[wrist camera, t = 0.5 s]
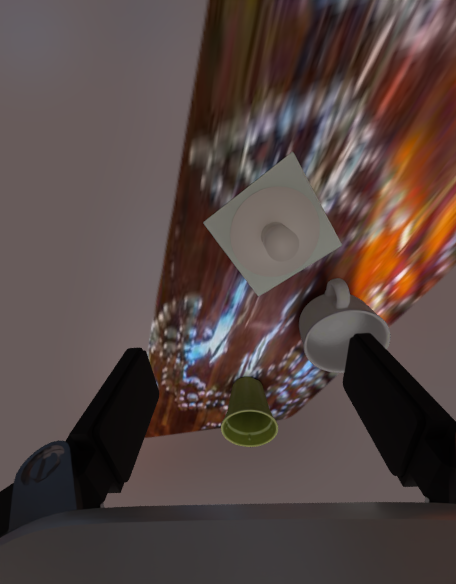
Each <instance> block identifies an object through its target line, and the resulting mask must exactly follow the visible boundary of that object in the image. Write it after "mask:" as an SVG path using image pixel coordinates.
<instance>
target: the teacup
mask: <svg viewBox="0 0 456 584" xmlns="http://www.w3.org/2000/svg"><path fill="white" fill-rule="evenodd" d="M299 330H300V335H301V338H302V342H303V345H304V351H305V354H306V356H307V358H308V359H309V361H310V362H311V363H312V364H313V365H315V366H316V367H318V368H320V369H322V370H325V371H329V372H335V373H344V371H345V365H346V359H347V353H348V346H349V340H350V338H351V337H353V336H354V334H357V333H371V334H372V335H373V336H374V337H375V338H376V339H377V340H378V341H379V342H380V343H381V344H382V345H383V346H384V348H385V349H387V348H388V346H389V343H390V338H391V337H390V335H391V334H390V331H389V328H388V325H387V323H386V322H385V321H384V320H383V319H382V318H381V317H379V316H378V315H377V314H376V313H375V312H374V311H373V310H372V309H371V308H370V307H369V306H368V305H366V304H365V303H364V302H363V301H362V300H360V299H359V298H357V297H355V296H353V295H350V292H349V288H348V286H347V284H346V283H345V281H344V280H342V279H339V278H337V279H333V280H330V281H329V282H328V284H327V288H326V291H325V294H323V295H321V296H318V297H316V298H315V299H313V300H312V301H310V302H309V303H308V304H307V305H306V306H305V308H304V309H303V311H302V313H301V315H300V319H299Z"/></svg>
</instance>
